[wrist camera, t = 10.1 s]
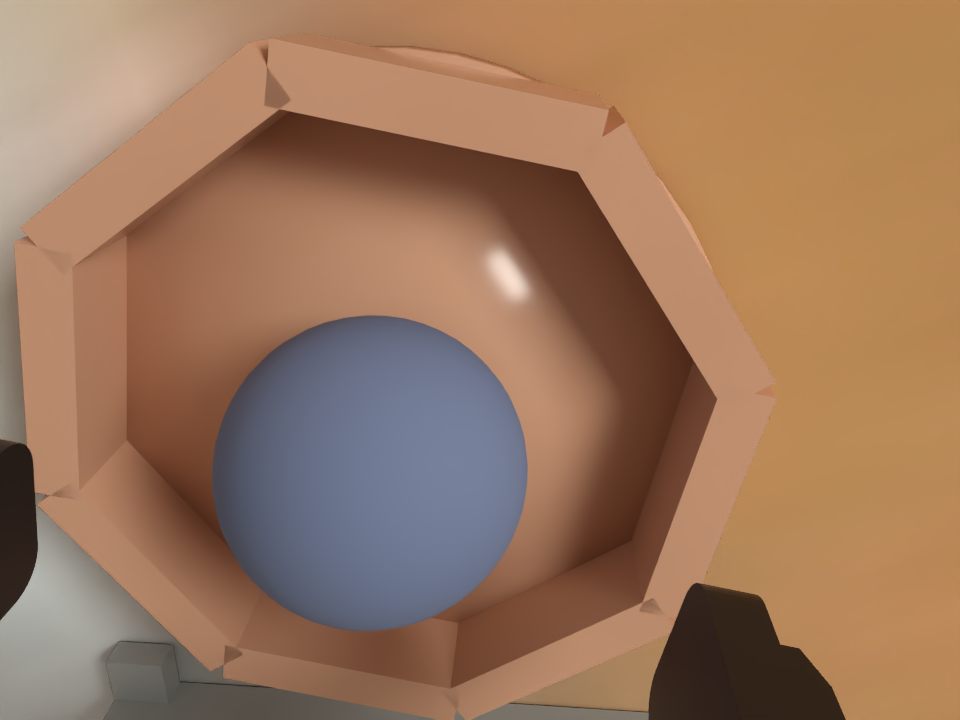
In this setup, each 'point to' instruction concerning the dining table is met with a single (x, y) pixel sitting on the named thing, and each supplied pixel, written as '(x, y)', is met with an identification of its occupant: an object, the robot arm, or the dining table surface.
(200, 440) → the bowl
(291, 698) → the fence
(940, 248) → the dining table surface
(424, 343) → the ball
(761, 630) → the robot arm
